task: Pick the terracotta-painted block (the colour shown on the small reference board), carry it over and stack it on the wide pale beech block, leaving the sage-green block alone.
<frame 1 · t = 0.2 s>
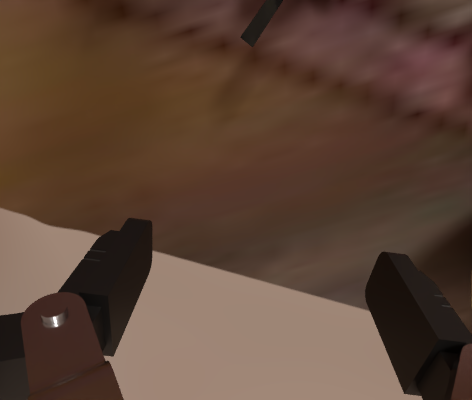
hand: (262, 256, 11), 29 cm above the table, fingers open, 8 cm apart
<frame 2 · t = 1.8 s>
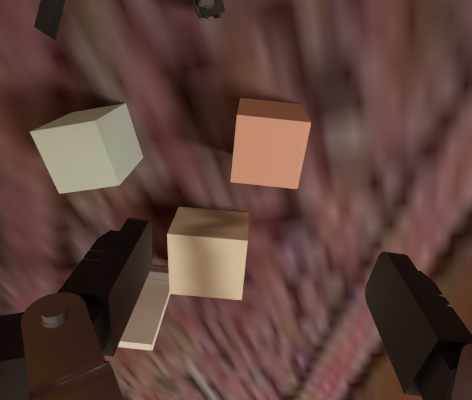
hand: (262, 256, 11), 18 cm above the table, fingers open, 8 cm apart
sage block: (108, 135, 29), on the table
reference board: (139, 274, 36), on the table
terracotta block: (266, 130, 28), on the table
beech base block: (212, 237, 34), on the table
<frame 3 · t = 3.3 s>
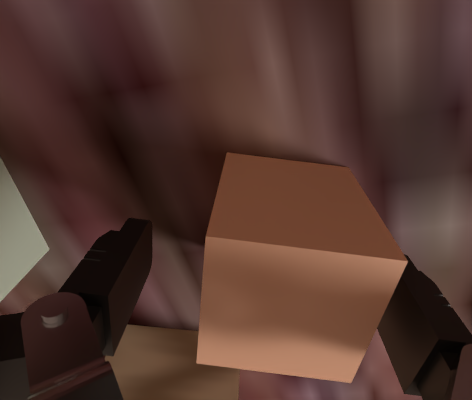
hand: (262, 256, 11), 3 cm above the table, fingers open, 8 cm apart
terracotta block: (277, 211, 14), on the table
beech base block: (182, 365, 20), on the table
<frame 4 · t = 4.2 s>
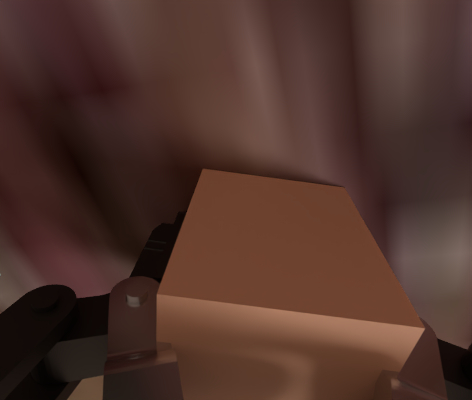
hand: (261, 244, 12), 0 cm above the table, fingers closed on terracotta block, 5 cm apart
terracotta block: (262, 236, 12), on the table, touching gripper
beech base block: (158, 399, 18), on the table
when the fingers open (7 cm above the table, at t = 8.9 s): terracotta block drops 2 cm, point 5 cm above the table.
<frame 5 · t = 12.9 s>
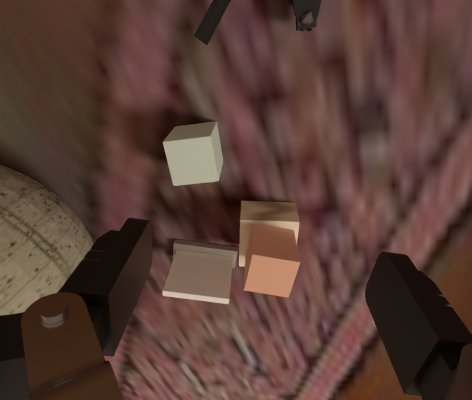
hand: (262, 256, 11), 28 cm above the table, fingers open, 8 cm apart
celestial globe: (32, 222, 46), on the table
sage block: (199, 144, 39), on the table
reference board: (205, 251, 46), on the table
terracotta block: (268, 243, 39), point 5 cm above the table
beech base block: (266, 223, 44), on the table
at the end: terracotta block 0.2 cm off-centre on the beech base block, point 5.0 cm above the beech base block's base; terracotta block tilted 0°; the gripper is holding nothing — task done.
